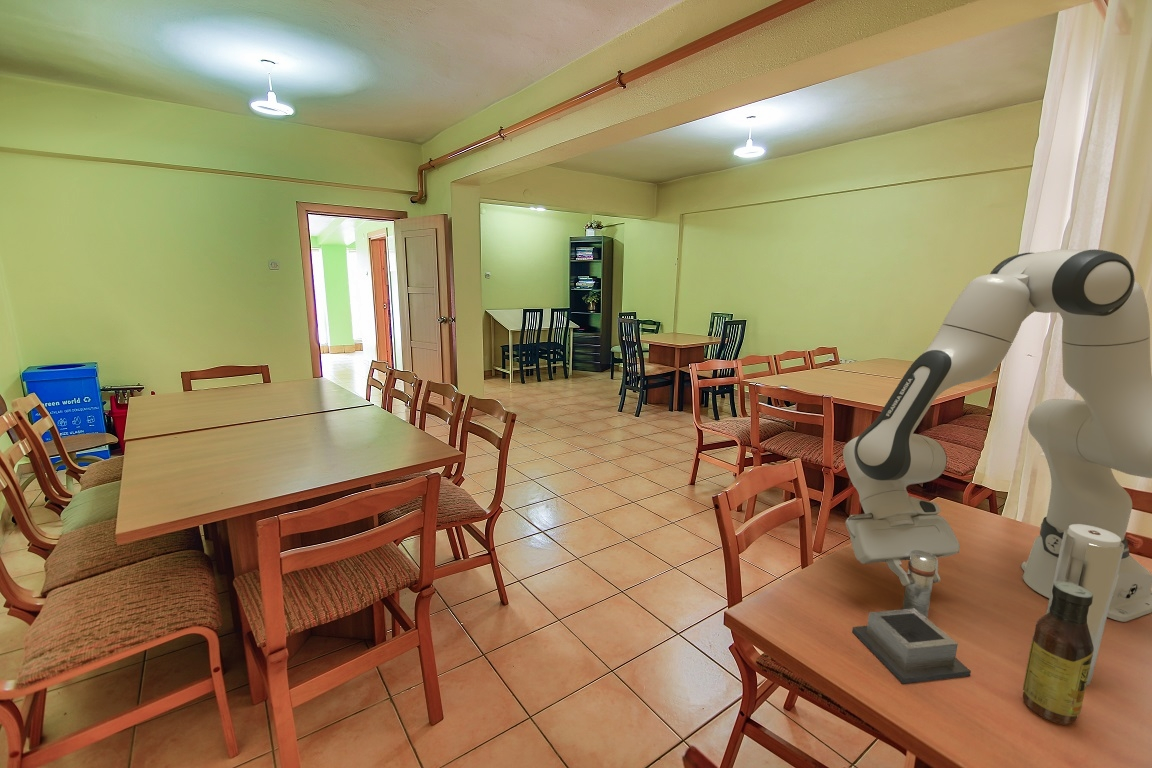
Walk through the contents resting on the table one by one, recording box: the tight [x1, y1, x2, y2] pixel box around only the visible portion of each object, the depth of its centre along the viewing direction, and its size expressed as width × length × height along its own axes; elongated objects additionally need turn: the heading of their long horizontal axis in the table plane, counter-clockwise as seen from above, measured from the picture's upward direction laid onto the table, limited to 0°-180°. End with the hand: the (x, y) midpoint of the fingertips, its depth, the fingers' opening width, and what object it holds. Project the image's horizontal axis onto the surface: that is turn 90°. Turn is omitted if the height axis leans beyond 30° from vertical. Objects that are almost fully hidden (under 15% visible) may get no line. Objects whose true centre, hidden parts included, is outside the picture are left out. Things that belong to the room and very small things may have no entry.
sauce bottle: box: [1022, 581, 1094, 726], centre depth 72 cm, size 6×6×20 cm
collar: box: [852, 608, 972, 685], centre depth 85 cm, size 12×12×5 cm
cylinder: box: [901, 550, 938, 619], centre depth 94 cm, size 4×4×12 cm
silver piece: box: [1045, 524, 1124, 687], centre depth 78 cm, size 6×6×25 cm
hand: (922, 583), depth 93 cm, fingers closed on cylinder, 4 cm apart
